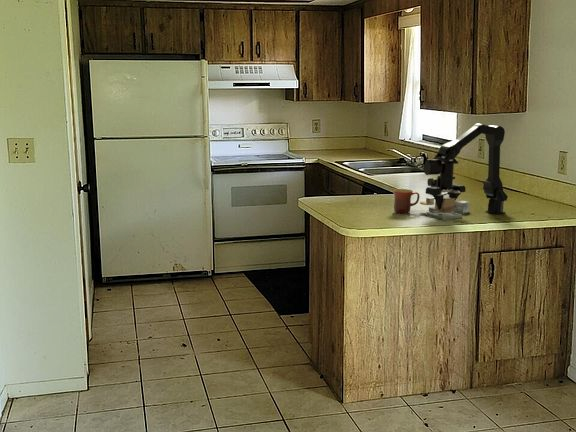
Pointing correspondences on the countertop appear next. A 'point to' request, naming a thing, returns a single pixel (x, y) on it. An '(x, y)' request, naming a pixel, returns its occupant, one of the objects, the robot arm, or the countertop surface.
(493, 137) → the robot arm
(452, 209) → the walnut block
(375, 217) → the countertop surface
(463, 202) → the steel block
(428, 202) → the balance
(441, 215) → the slate dish
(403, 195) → the mug
